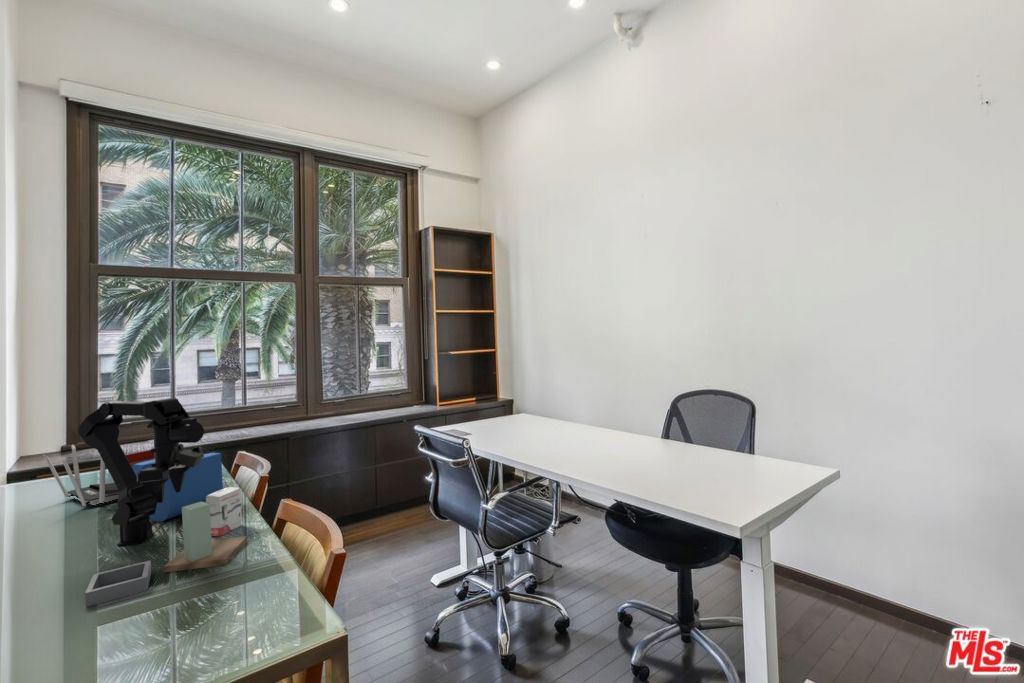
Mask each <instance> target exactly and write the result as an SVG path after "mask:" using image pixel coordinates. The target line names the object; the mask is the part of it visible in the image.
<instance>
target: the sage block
mask: <svg viewBox="0 0 1024 683" xmlns="http://www.w3.org/2000/svg"><path fill="white" fill-rule="evenodd" d="M181 517H182V519H181V520H182V536H183V550H184V558H186V559H188V560H190V561H191V562H193V561H196V560H199V559H201V558H204V557H207V556H209V555H212V540H213V539H212V536H211V521H210V504H207V503H205V502H198V503H195V504H191V505H188V506H184V507H182V514H181Z"/></svg>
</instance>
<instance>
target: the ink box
mask: <svg viewBox="0 0 1024 683" xmlns="http://www.w3.org/2000/svg"><path fill="white" fill-rule="evenodd" d="M206 503H207V504H210V521H211V537H222V536H224V535H226V534H227V533H229V532H232V531H234V530H236V529H238V528H239V527H241V526H242V525H243V524H242V522H243V519H242V517H243V516H242V490H241V487H234V486H233V487H232V486H228V487H223V489H222V490H219V491H217V492H214V493H212V494H209V495H207V497H206ZM233 529H234V530H233ZM231 530H232V531H231Z"/></svg>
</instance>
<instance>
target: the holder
mask: <svg viewBox="0 0 1024 683" xmlns="http://www.w3.org/2000/svg"><path fill="white" fill-rule="evenodd" d="M151 575H152V564H151V560H147V561H146V560H145V561H143V562H138V563H134V564H130V565H126V566H122V567H118V568H115V569H114V568H113V569H110V570H106V571H102V572H97V573H94V574H92V577H91V579H90V581H89V584H88V586H87V588H86V590H85V593H84V600H85V602H84V604H85V608H88V607H90V606H91V605H92V606H94V605H99V604H102V602H103V603H105V602H106V603H107V602H109V601H112V600H113V601H114V600H117V599H121V598H124V597H128V596H131V595H134V594H140V593H142V592H146V591H148V590H149V586H150V580H151Z"/></svg>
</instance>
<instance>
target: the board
mask: <svg viewBox="0 0 1024 683" xmlns="http://www.w3.org/2000/svg"><path fill="white" fill-rule="evenodd" d="M247 542H248V536H245V535H244V536H240V537H239V536H238V537H237V536H236V537H231V538H222V539H212V555H209V556H207V557H204V558H201V559H199V560H196V561H193V562H191V561H190V560H188V559H186V558H184V549H182V550H181V551H180V552H179V553H178V554H177V555H175V556H174V557H173V558H172V559H170V560H169V562H167V563H166V564H165V565H164V566H163V573H170V572H178V571H180V572H181V571H186V570H188V571H189V570H195V569H203V568H212V567H218V566H220V567H221V566H226V565H228V563H229V562H230V561H231V560H232V559H233V558H234V557H235V555H236V554H238V552H239V551H240V550H241V549H242V548H243V547H244V546H245V545H246V544H245V543H247ZM244 544H245V545H244ZM233 556H234V557H233ZM232 557H233V558H232ZM231 558H232V559H231ZM230 559H231V560H230ZM229 560H230V561H229Z"/></svg>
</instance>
